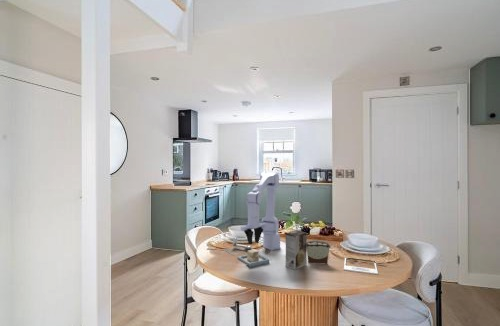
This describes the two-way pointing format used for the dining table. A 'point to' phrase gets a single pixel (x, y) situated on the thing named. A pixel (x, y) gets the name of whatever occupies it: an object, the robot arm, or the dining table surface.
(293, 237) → the coffee box
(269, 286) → the dining table surface
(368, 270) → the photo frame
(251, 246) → the crank lever
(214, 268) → the dining table surface
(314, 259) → the food container
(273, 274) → the dining table surface
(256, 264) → the tray
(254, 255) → the block
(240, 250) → the board
